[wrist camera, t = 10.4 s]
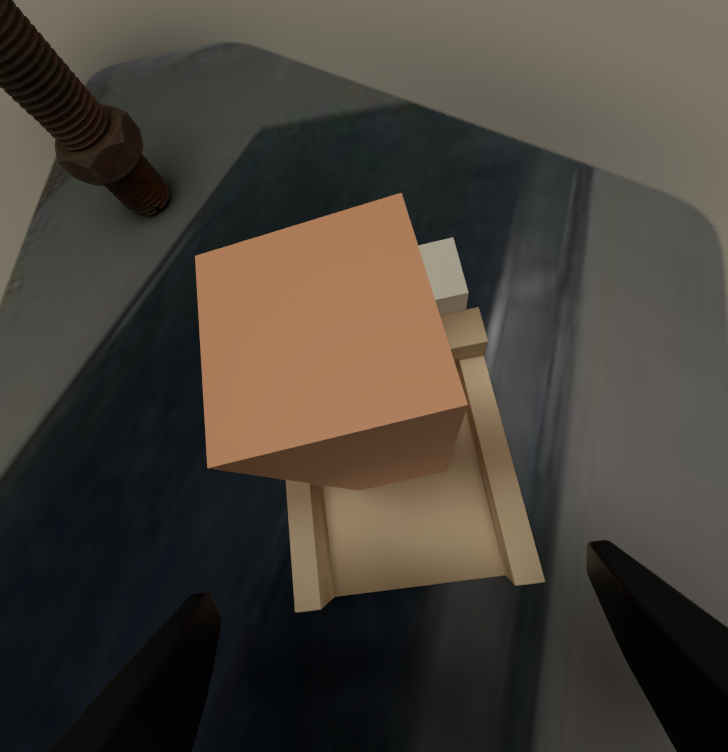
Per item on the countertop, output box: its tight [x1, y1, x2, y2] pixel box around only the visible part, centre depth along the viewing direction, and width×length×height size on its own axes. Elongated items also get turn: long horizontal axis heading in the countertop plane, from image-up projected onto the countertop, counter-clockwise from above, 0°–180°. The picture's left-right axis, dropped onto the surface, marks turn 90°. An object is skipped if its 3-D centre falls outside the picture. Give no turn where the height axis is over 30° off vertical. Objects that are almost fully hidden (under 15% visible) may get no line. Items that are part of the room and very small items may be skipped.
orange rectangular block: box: [195, 193, 468, 491], centre depth 12 cm, size 4×4×12 cm
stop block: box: [418, 238, 468, 315], centre depth 17 cm, size 2×8×6 cm, turn 98°
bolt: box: [0, 0, 169, 215], centre depth 20 cm, size 6×5×15 cm
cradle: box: [286, 307, 545, 613], centre depth 16 cm, size 10×9×4 cm
